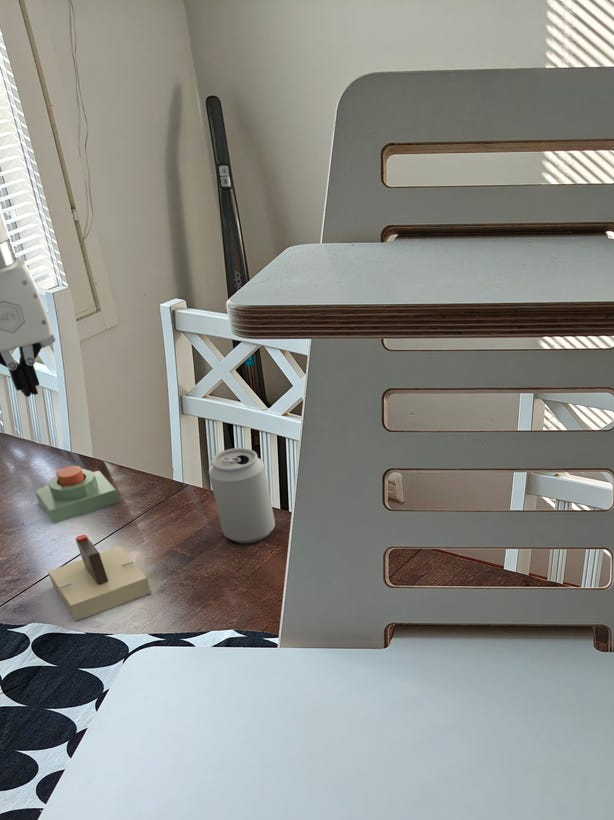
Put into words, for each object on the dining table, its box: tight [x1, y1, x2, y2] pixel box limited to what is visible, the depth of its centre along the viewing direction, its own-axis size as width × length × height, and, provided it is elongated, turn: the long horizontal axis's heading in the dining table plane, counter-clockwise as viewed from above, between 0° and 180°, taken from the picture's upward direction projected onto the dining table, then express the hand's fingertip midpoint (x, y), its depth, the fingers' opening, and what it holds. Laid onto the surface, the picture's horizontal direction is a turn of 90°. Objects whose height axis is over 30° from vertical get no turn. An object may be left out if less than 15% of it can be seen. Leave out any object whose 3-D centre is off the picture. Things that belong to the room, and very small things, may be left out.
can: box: [208, 447, 276, 544], centre depth 137 cm, size 8×8×12 cm
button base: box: [34, 468, 120, 524], centre depth 149 cm, size 10×8×4 cm
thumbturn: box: [75, 533, 108, 585], centre depth 127 cm, size 6×1×5 cm, turn 35°
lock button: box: [55, 465, 84, 486], centre depth 147 cm, size 4×4×2 cm
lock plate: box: [47, 545, 152, 622], centre depth 130 cm, size 10×10×3 cm
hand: (29, 392), depth 136 cm, fingers closed
